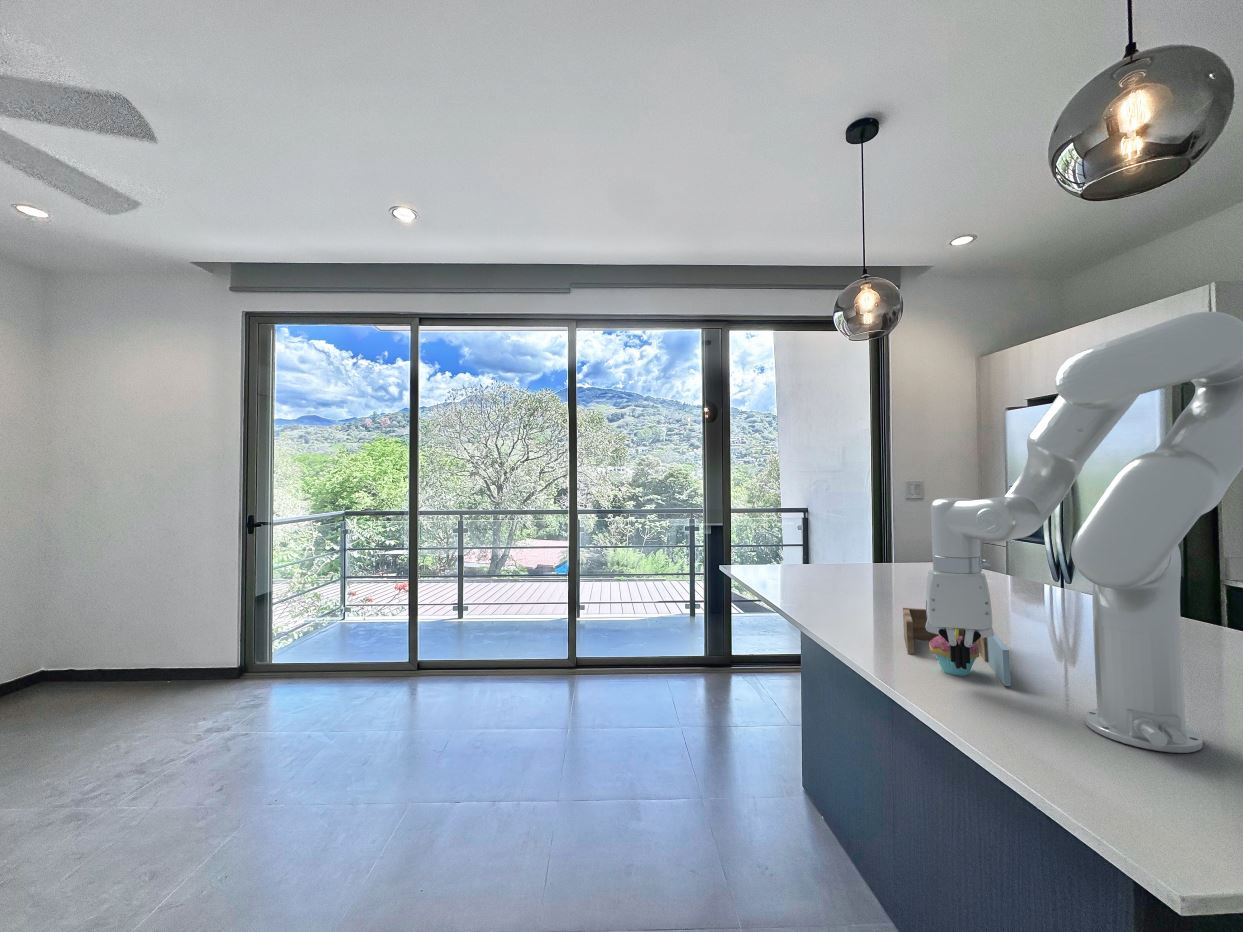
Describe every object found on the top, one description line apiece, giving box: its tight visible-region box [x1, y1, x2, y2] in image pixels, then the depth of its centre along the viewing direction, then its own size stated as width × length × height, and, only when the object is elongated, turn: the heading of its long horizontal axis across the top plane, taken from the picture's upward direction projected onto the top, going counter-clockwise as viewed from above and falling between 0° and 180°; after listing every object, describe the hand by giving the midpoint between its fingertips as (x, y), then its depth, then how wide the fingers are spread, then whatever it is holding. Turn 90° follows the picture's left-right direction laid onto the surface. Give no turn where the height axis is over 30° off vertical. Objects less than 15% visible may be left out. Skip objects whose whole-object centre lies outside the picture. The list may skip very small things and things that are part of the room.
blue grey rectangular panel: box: [987, 631, 1012, 687], centre depth 107 cm, size 1×15×6 cm, turn 156°
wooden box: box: [902, 607, 989, 663], centre depth 124 cm, size 14×15×7 cm
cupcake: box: [928, 629, 980, 677], centre depth 109 cm, size 9×8×12 cm
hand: (960, 666), depth 101 cm, fingers closed
